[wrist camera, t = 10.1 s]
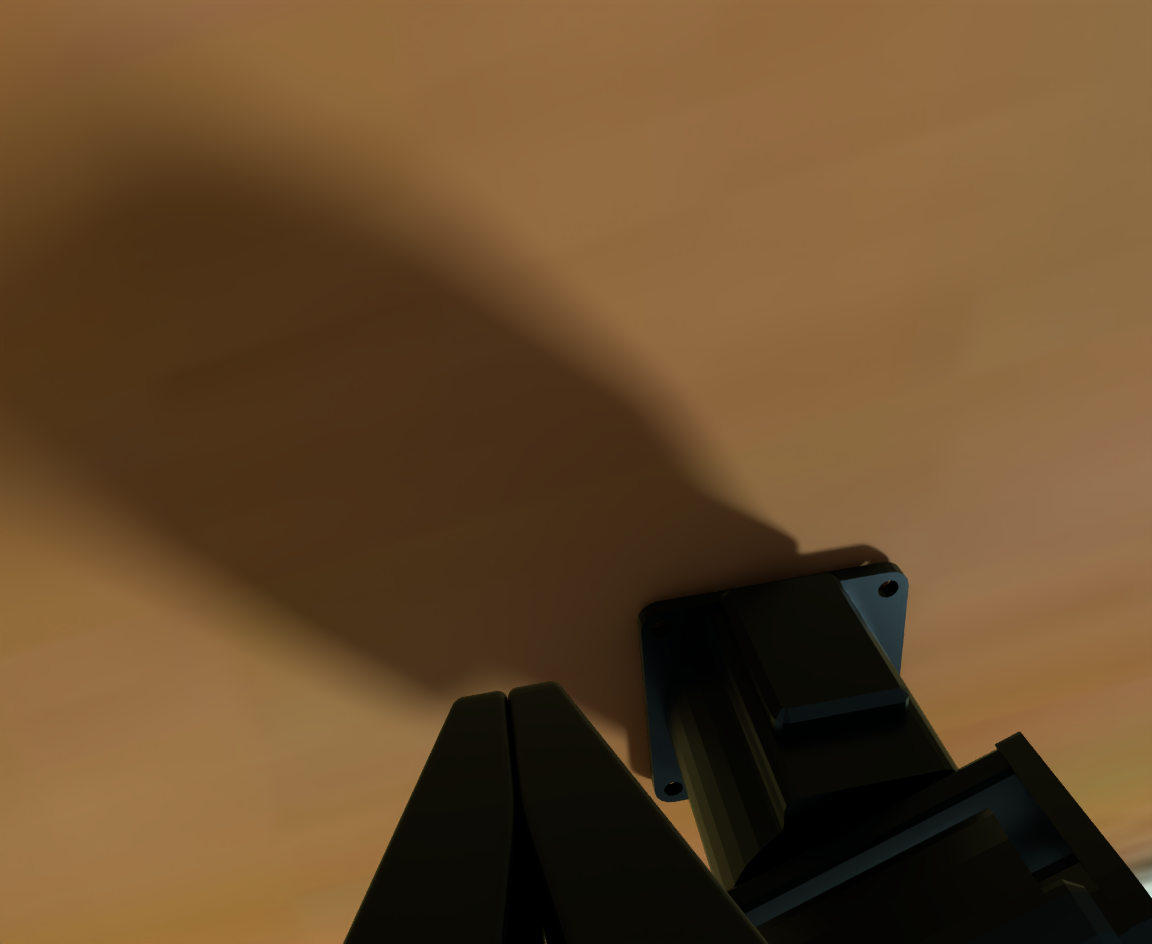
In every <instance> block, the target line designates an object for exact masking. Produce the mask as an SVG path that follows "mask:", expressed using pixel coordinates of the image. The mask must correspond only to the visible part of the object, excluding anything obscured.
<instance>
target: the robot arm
mask: <svg viewBox="0 0 1152 944" xmlns="http://www.w3.org/2000/svg"><path fill="white" fill-rule="evenodd" d="M889 580H890V582H889V583H888V584H887V585H886V586H883V587H880V585H882V584H883V583H884V582H886V581H889ZM908 586H909V585H908V579H907V578H906V576H905V575H904V574H903V572H902V571H901V570H900V568H899V567H898V566H897V565H896V564H893V563H891V562H882V563H876V564H871V565H865V566H859V567H853V568H848V569H842V570H836V571H830V572H825V573H819V574H813V575H808V576H802V577H796V578H790V579H785V580H779V581H773V582H768V583H762V584H756V585H750V586H745V587H739V588H733V589H727V590H722V591H716V592H710V593H705V594H699V595H693V596H687V597H682V598H676V599H670V600H664V601H659V602H655V603H652V604H649V605H648V606H646V607H645V608H644V609H643V610H642V611H641V613H640V614H639V616H638V631H639V643H640V654H641V665H642V677H643V688H644V699H645V710H646V722H647V733H648V744H649V755H650V767H651V778H652V783H653V787H654V791H655V794H656V796H657V798H659V799H660V800H661V801H665V802H676V801H681V800H686V799H689V802H690V805H691V808H692V811H693V815H694V818H695V821H696V824H697V828H698V831H699V834H700V837H701V841H702V844H703V847H704V850H705V854H706V857H707V860H708V863H709V867H710V870H711V872H710V870H709V869H708V868H707V867H706V865H705V864H704V863H703V862H702V860H701V859H700V858H699V857H698V856H697V854H696V853H695V852H694V851H693V849H692V848H691V847H690V846H689V844H688V843H687V842H686V841H685V839H684V838H683V837H682V836H681V834H680V833H679V832H678V831H677V829H676V828H675V827H674V826H673V824H672V823H671V822H670V821H669V819H668V818H667V817H666V816H665V814H664V813H663V812H662V811H661V809H660V808H659V807H658V806H657V805H656V803H655V802H654V801H653V800H652V798H651V797H650V796H649V795H648V793H647V792H646V791H645V790H644V788H643V787H642V786H641V785H640V783H639V782H638V781H637V780H636V778H635V777H634V776H633V775H632V773H631V772H630V771H629V770H628V768H627V767H626V766H625V765H624V763H623V762H622V761H621V760H620V758H619V757H618V756H617V755H616V754H615V752H614V751H613V750H612V749H611V747H610V746H609V745H608V744H607V742H606V741H605V740H604V739H603V737H602V736H601V735H600V734H599V732H598V731H597V730H596V729H595V727H594V726H593V725H592V724H591V722H590V721H589V720H588V719H587V717H586V716H585V715H584V714H583V712H582V711H581V710H580V709H579V707H578V706H577V705H576V704H575V703H574V701H573V700H572V699H571V698H570V696H569V695H568V694H567V693H566V691H565V690H564V689H563V688H562V687H561V686H560V685H559V684H558V683H556V682H553V681H552V682H544V683H539V684H533V685H527V686H522V687H516V688H513V689H512V690H511V691H510V692H509V695H508V699H507V696H506V695H505V694H504V693H503V692H501V691H494V692H488V693H483V694H477V695H472V696H466V697H462V698H459V699H458V700H457V701H455V703H454V704H453V706H452V708H451V709H450V712H449V714H448V716H447V718H446V720H445V722H444V725H443V727H442V729H441V731H440V733H439V736H438V738H437V740H436V742H435V744H434V746H433V749H432V751H431V753H430V755H429V757H428V760H427V762H426V764H425V766H424V768H423V770H422V773H421V775H420V777H419V779H418V781H417V783H416V786H415V788H414V790H413V792H412V794H411V797H410V799H409V801H408V803H407V805H406V807H405V810H404V812H403V814H402V816H401V818H400V821H399V823H398V825H397V827H396V829H395V831H394V834H393V836H392V838H391V840H390V842H389V845H388V847H387V849H386V851H385V853H384V855H383V858H382V860H381V862H380V864H379V866H378V868H377V871H376V873H375V875H374V877H373V879H372V882H371V884H370V886H369V888H368V890H367V892H366V895H365V897H364V899H363V901H362V903H361V906H360V908H359V910H358V912H357V914H356V916H355V919H354V921H353V923H352V925H351V927H350V929H349V932H348V934H347V936H346V938H345V940H344V943H343V944H546V943H547V944H1152V898H1151V896H1150V895H1149V894H1148V892H1147V891H1146V890H1145V888H1144V887H1143V886H1142V884H1141V883H1140V882H1139V880H1138V879H1137V878H1136V877H1135V875H1134V874H1133V873H1132V871H1131V870H1130V869H1129V867H1128V866H1127V865H1126V864H1125V862H1124V861H1123V860H1122V859H1121V857H1120V856H1119V855H1118V854H1117V852H1116V851H1115V850H1114V849H1113V847H1112V846H1111V845H1110V844H1109V842H1108V841H1107V840H1106V839H1105V837H1104V836H1103V835H1102V834H1101V832H1100V831H1099V830H1098V829H1097V827H1096V826H1095V825H1094V823H1093V822H1092V821H1091V820H1090V818H1089V817H1088V816H1087V815H1086V813H1085V812H1084V811H1083V810H1082V808H1081V807H1080V806H1079V805H1078V803H1077V802H1076V801H1075V800H1074V798H1073V797H1072V796H1071V795H1070V793H1069V792H1068V791H1067V790H1066V788H1065V787H1064V786H1063V785H1062V783H1061V782H1060V781H1059V780H1058V778H1057V777H1056V776H1055V775H1054V773H1053V772H1052V771H1051V770H1050V768H1049V767H1048V766H1047V765H1046V763H1045V762H1044V761H1043V760H1042V758H1041V757H1040V756H1039V755H1038V753H1037V752H1036V751H1035V750H1034V748H1033V747H1032V746H1031V745H1030V743H1029V742H1028V741H1027V740H1026V738H1025V737H1024V736H1023V735H1022V733H1021V732H1020V731H1019V732H1017V733H1016V734H1014V735H1012V736H1010V737H1008V738H1006V739H1004V740H1002V741H1000V742H998V743H997V744H995V746H996V748H997V749H996V750H994V751H992V752H990V753H988V754H986V755H984V756H983V757H981V758H979V759H977V760H975V761H973V762H971V763H969V764H967V765H965V766H964V767H962V768H960V769H958V767H957V766H956V764H955V762H954V761H953V759H952V758H951V756H950V755H949V753H948V751H947V750H946V748H945V747H944V745H943V743H942V742H941V740H940V739H939V737H938V735H937V734H936V732H935V731H934V729H933V727H932V726H931V724H930V723H929V721H928V719H927V718H926V716H925V715H924V713H923V711H922V710H921V708H920V707H919V705H918V703H917V702H916V700H915V699H914V697H913V696H912V694H911V692H910V691H909V689H908V688H907V686H906V684H905V683H904V681H903V680H902V678H901V676H900V669H901V658H902V648H903V638H904V627H905V617H906V607H907V596H908ZM661 620H662V621H667V622H666V623H665V624H664V625H662V626H659V627H655V626H653V625H654V624H655V623H656V622H659V621H661ZM672 782H674V783H672ZM670 783H672V784H670ZM545 938H546V940H545Z"/></svg>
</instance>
